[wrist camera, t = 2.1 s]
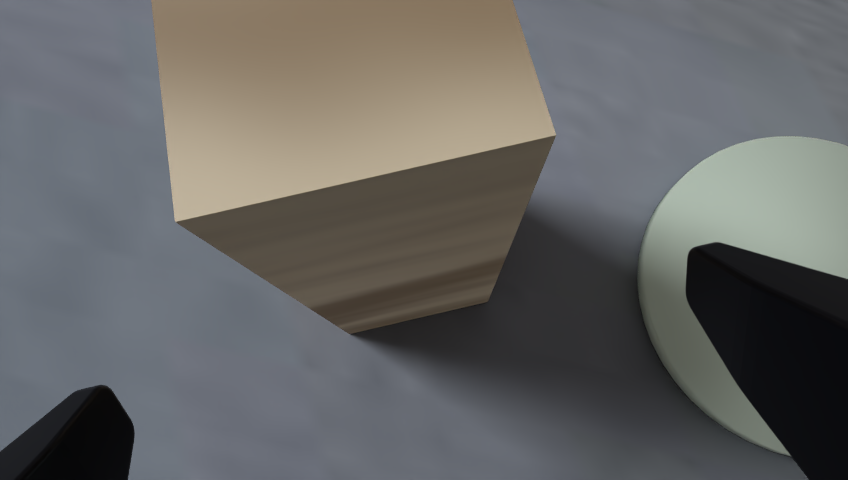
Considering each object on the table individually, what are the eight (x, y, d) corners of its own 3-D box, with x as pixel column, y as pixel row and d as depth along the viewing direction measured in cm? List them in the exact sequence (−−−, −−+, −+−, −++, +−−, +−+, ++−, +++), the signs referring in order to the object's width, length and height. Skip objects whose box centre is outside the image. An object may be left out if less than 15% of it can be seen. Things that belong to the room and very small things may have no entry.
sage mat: (952, 514, 17) (975, 519, 17) (603, 393, 19) (609, 392, 18) (983, 196, 20) (1004, 188, 19) (674, 111, 21) (683, 100, 21)
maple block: (487, 301, 20) (556, 135, 7) (349, 334, 20) (175, 222, 7) (454, 174, 21) (463, -153, 9) (324, 203, 21) (142, -83, 8)
